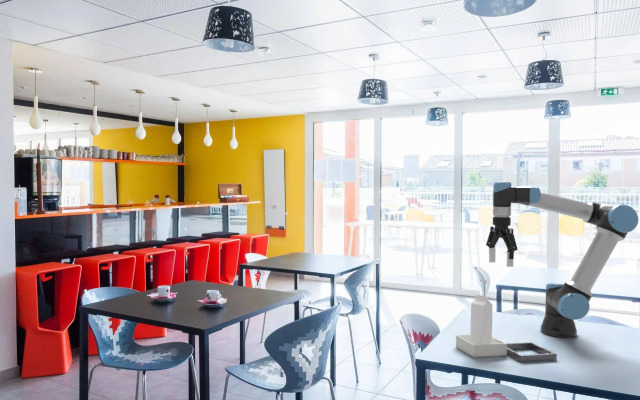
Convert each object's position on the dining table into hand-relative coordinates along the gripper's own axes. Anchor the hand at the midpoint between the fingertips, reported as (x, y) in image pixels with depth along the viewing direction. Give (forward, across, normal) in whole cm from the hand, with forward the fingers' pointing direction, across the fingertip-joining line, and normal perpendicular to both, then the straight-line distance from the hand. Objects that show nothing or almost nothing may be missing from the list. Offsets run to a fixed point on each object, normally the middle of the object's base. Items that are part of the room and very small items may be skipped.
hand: (500, 264), depth 223 cm
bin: (+32, +16, -19) cm, 41 cm away
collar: (+33, +24, -3) cm, 40 cm away
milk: (+32, +16, -19) cm, 41 cm away
